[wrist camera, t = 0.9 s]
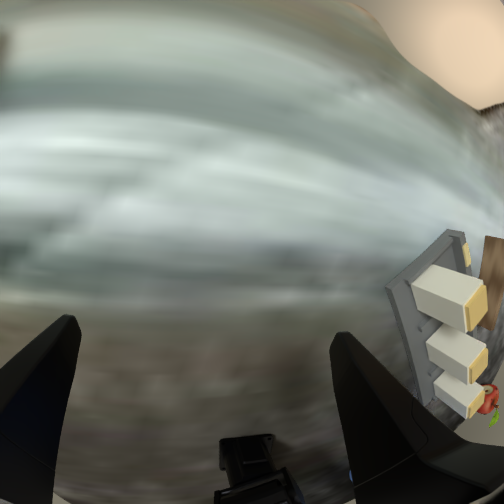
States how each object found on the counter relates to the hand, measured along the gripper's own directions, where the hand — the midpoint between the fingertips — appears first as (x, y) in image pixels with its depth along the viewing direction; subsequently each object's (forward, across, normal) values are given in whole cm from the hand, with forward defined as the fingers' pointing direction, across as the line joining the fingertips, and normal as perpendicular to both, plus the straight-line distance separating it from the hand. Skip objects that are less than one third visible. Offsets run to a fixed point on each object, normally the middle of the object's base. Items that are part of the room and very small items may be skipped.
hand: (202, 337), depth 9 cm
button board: (+14, -31, +17) cm, 39 cm away
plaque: (+18, -41, +11) cm, 46 cm away
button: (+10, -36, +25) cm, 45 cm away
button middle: (+13, -30, +17) cm, 37 cm away
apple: (+10, -56, +36) cm, 68 cm away
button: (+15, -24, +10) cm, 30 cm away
